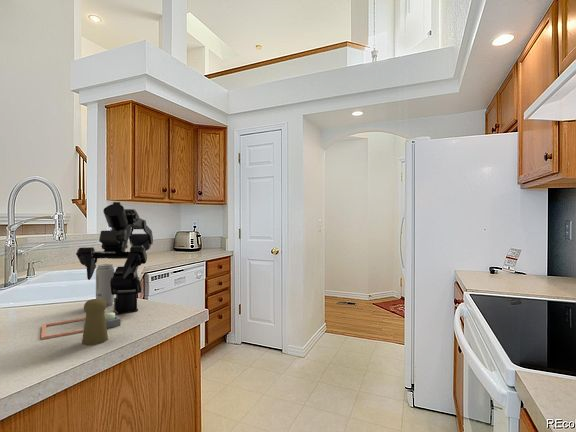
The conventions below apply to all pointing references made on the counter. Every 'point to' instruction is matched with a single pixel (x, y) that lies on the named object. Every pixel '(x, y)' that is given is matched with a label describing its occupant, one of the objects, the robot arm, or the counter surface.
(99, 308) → the olive pepper mill
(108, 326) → the button box
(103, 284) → the energy drink can
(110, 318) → the button
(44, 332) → the terracotta outline
